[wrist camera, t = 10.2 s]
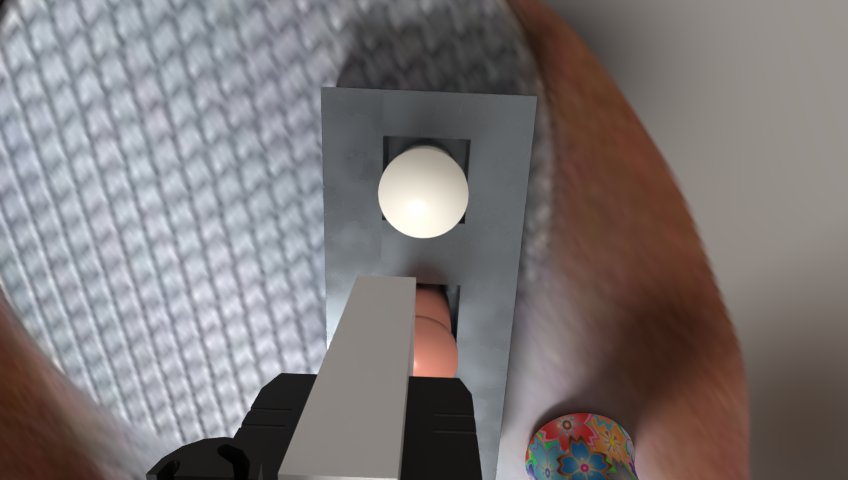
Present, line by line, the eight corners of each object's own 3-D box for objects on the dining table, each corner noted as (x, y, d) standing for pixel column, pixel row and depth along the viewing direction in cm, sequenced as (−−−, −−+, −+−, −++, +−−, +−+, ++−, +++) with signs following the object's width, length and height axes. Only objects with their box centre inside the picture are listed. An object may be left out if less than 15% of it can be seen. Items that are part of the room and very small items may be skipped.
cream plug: (389, 205, 31) (377, 235, 25) (391, 134, 30) (378, 147, 24) (459, 208, 31) (465, 240, 25) (464, 137, 30) (471, 151, 24)
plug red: (386, 333, 33) (373, 393, 27) (387, 272, 32) (374, 320, 25) (451, 337, 33) (455, 397, 27) (456, 276, 32) (460, 324, 25)
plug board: (340, 447, 39) (330, 486, 35) (335, 86, 30) (320, 87, 26) (488, 454, 39) (493, 495, 35) (524, 95, 30) (537, 96, 26)
